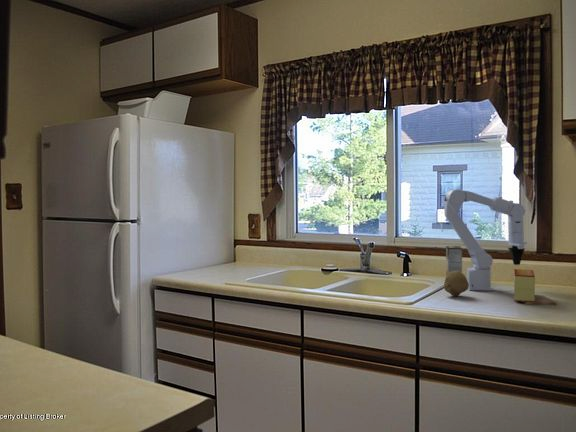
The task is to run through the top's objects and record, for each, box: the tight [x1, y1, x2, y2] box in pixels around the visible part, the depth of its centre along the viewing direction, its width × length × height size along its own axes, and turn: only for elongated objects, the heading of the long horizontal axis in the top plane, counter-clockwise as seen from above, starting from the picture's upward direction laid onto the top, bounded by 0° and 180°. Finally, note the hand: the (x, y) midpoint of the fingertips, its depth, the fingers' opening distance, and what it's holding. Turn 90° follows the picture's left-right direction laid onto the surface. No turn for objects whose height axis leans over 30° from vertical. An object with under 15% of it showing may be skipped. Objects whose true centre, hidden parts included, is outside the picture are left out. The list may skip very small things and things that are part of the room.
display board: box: [521, 294, 557, 306], centre depth 188 cm, size 10×14×1 cm
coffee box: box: [445, 245, 463, 277], centre depth 231 cm, size 9×6×16 cm
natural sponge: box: [443, 271, 469, 297], centre depth 198 cm, size 9×9×10 cm
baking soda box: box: [513, 268, 536, 302], centre depth 190 cm, size 10×6×16 cm
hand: (516, 264), depth 211 cm, fingers closed
